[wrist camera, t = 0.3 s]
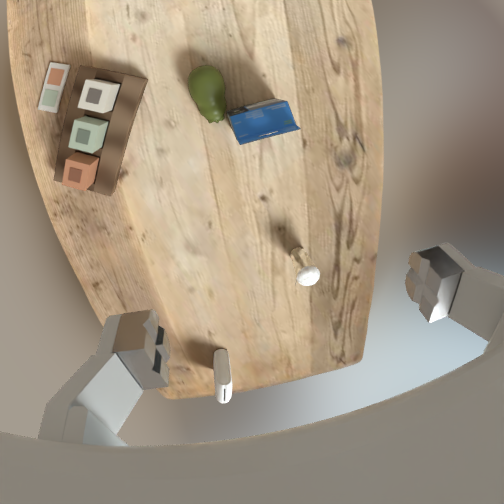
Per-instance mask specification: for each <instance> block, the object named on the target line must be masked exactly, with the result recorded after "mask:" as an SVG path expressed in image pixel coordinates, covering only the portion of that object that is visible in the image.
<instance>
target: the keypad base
mask: <svg viewBox="0 0 504 504" xmlns="http://www.w3.org/2000/svg"><path fill="white" fill-rule="evenodd" d="M86 79H98V80H103V81H108V82H112V83H117V84H120V87H119V90H118V93H117V96H116V99H115V102H114V105H113V108H112V110H111V111H108V112H105V113H99V112H95V111H91V110H86V109H82V108H78V104H79V101H80V97H81V94H82V90H83V87H84V84H85V80H86ZM147 82H148V79H144V78H140V77H136V76H132V75H128V74H123V73H119V72H114V71H109V70H105V69H100V68H94V67H89V66H80V68H79V71H78V74H77V77H76V80H75V84H74V87H73V90H72V94H71V97H70V101H69V105H68V109H67V113H66V117H65V121H64V126H63V130H62V135H61V140H60V145H59V150H58V156H57V162H56V168H55V175H54V180H55V181H58V182H62V181H63V174H64V168H65V162H66V159H67V158H68V157H70V156H71V155H73V154H74V153H76V152H79V153H83V154H87V155H91V156H94V157H98V158H99V161H98V165H97V170H96V175H95V180H94V182H93V183H92V184H91V185H90V186H89V187H88V188H87V190H90V191H94V192H97V193H101V194H104V195H108V196H111V195H112V194H113V193H114V191H115V189H116V185H117V180H118V176H119V172H120V168H121V164H122V160H123V157H124V153H125V149H126V146H127V142H128V139H129V136H130V132H131V129H132V126H133V122H134V119H135V116H136V113H137V110H138V107H139V104H140V101H141V98H142V95H143V93H144V90H145V87H146V84H147ZM84 116H88V117H92V118H96V119H100V120H104V121H108V126H107V129H106V133H105V137H104V140H103V144H102V147H101V148H99V149H98V150H97V151H95V152H94V153H89V152H85V151H81V150H77V149H73V148H70V147H68V146H69V142H70V137H71V132H72V128H73V124H74V120H76V119H78V118H81V117H84Z"/></svg>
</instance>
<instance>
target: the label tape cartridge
mask: <svg viewBox="0 0 504 504" xmlns="http://www.w3.org/2000/svg"><path fill="white" fill-rule="evenodd" d="M227 115H228V118H229V122H230V125H231V128H232V130H233V132H234V134H235V137H236V139H237V140H238V142H239V144H240V145H242V144H246V143H249V142H253V141H257V140H260V139H264V138H268V137H272V136H276V135H279V134H283V133H287V132H291V131H295V130H299V129H301V128H299V127H298V126H297V125H296V123H295V120H294V117H293V115H292V112H291V109H290V107H289V104H288V102H287V101H284V100H279V99H270V100H266V101H262V102H258V103H255V104H251V105H247V106H243V107H240V108H236V109H233V110H230V111H227ZM276 131H278V132H276ZM272 132H275V133H272ZM269 133H272V134H270V135H265V134H269ZM261 135H263V136H261ZM259 136H260V137H259Z"/></svg>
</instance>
